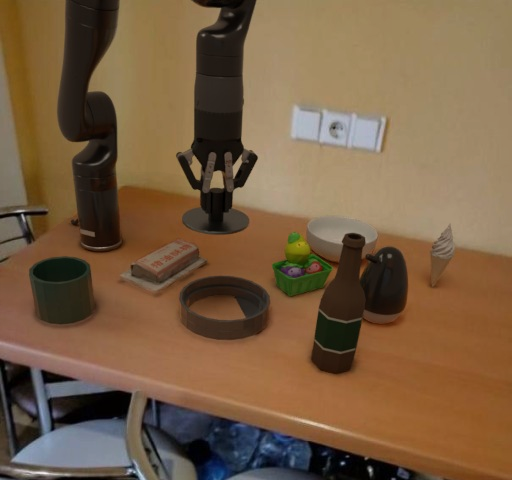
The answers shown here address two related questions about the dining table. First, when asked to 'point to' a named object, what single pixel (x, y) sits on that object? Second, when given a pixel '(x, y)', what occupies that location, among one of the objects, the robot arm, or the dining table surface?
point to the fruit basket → (300, 268)
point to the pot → (62, 290)
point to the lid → (216, 217)
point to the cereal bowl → (337, 235)
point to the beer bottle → (341, 311)
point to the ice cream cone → (441, 254)
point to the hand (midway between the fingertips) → (215, 211)
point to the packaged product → (164, 266)
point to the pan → (245, 292)
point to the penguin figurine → (385, 285)
